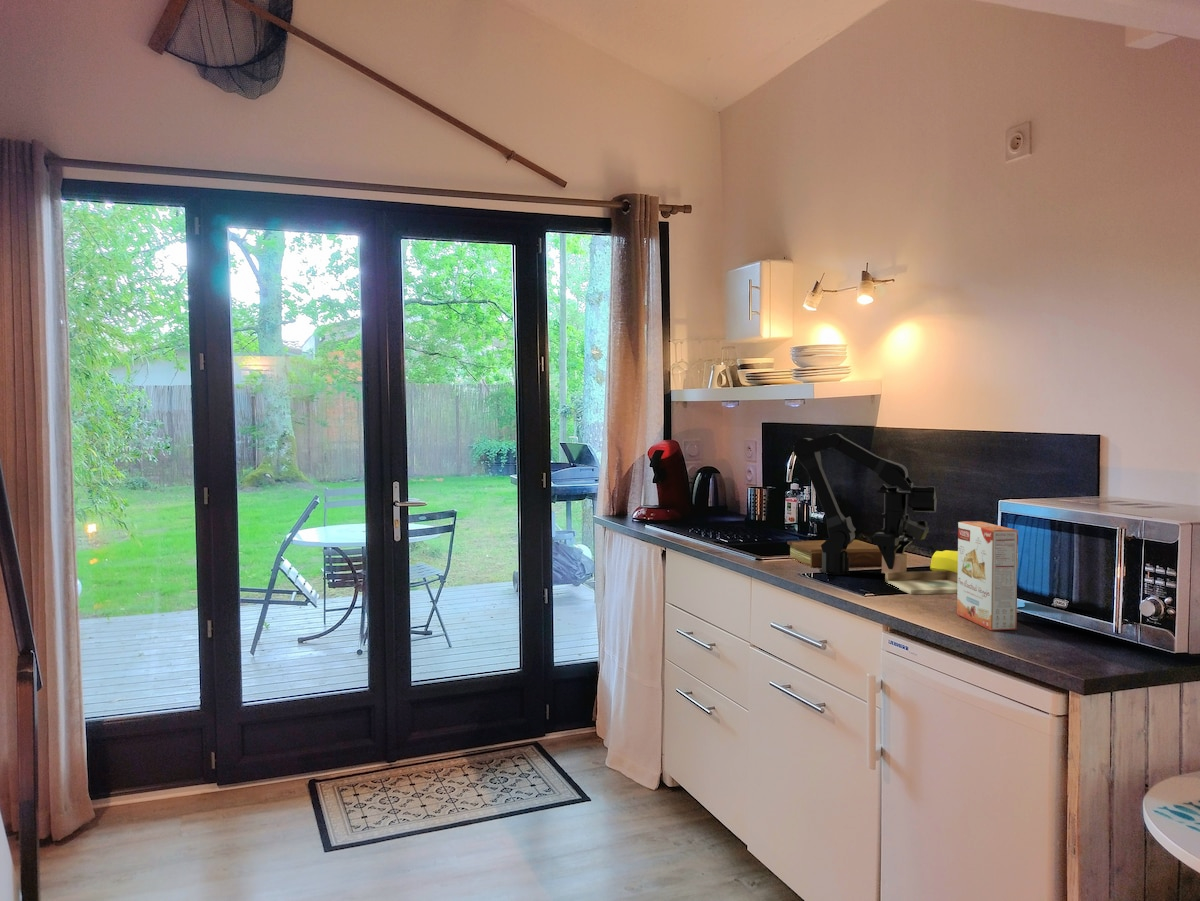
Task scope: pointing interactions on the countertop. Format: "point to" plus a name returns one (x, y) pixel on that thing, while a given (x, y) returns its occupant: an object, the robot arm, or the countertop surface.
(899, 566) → the cube
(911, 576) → the arena
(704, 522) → the countertop surface
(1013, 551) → the cracker box
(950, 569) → the faceted yellow capsule
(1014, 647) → the countertop surface
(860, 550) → the diary
